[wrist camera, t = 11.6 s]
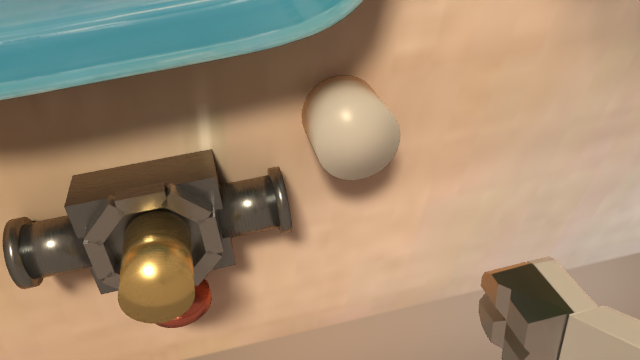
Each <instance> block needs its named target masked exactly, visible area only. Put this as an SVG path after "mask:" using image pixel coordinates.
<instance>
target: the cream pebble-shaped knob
mask: <svg viewBox="0 0 640 360" xmlns="http://www.w3.org/2000/svg"><path fill="white" fill-rule="evenodd" d="M302 123H303V127H304V129H305V132H306V134H307V136H308V138H309V140H310V142H311V144H312V146H313V149H314V151H315V153H316V155H317V157H318V159H319V161H320V163H321V165H322V166H323V168H324V169H325V170H326V171H327V172H328V173H330V174H331V175H333V176H335V177H337V178H340V179H344V180H359V179H364V178H367V177H370V176H372V175H374V174H376V173H378V172H379V171H381V170H382V169H383V168H384V167H386V166H387V165H388V164H389V162H390V161H391V160H392V159H393V157H394V155H395V154H396V152H397V149H398V146H399V142H400V128H399V124H398V122H397V120H396V118H395V116H394V115H393V114H392V113H391V111H390V110H389V109H388V108H387V106H386V105H385V104H384V103H383V102H382V100H381V99H380V98H379V97H378V95H377V94H376V93H375V92H374V90H373V89H372V88H371V87H370V86H369V85H368V84H367V83H366V82H365V81H363V80H362V79H359V78H357V77H354V76H348V75H341V76H335V77H331V78H329V79H326V80H325V81H323V82H321V83H320V84H318V85H317V86H316V87H315V88H314V89H313V90H312V91H311V92H310V93H309V95H308V96H307V98H306V100H305V102H304V105H303V109H302Z"/></svg>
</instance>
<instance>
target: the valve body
mask: <svg viewBox="0 0 640 360" xmlns="http://www.w3.org/2000/svg"><path fill="white" fill-rule="evenodd" d="M64 207H65V209H66V212H67V214H68V215H67V216H62V217H57V218H52V219H47V220H42V221H37V222H32V221H31V220H30V219H29V218H27V217H21V218H16V219H11V220H9V221H8V222H7V223H6V225H5V228H4V232H3V252H4V258H5V262H6V266H7V269H8V271H9V274H10V276H11V278H12V280H13V281H14V283H15V284H16V285H17V286H18V287H19V288H21V289H27V288H32V287H36V286H39V285H40V284H41V283H42V281H43V278H44V277H49V276H54V275H58V274H63V273H68V272H72V271H77V270H82V269H86V268H90V269H91V271H92V274H93V276H94V279H95V281H96V283H97V286H98V288H99V290H100V293H101V294H105V293H109V292H114V291H118V290H119V280H120V270H121V260H122V250H123V239H124V233H125V230H126V228H127V226H128V225H129V224H130V222H131V221H133V220H134V219H135V218H137V217H138V216H140V215H142V214H145V213H149V212H157V211H160V212H168V213H171V214H174V215H176V216H178V217H180V218H181V219H182V220H184V221H185V222H186V224H187V225H188V227H189V229H190V232H191V243H192V257H193V272H194V287H195V297H194V301H193V303H192V305H191V307H190V308H189V309H188V310H187V311H186V312H185V313H184V314H183V315H181V316H180V317H178V318H176V319H174V320H171V321H168V322H163V323H155V324H157V325H159V326H161V327H166V328H177V327H182V326H186V325H188V324H191V323H193V322H195V321H196V320H198V319H199V318H200V317H202V316H203V315H204V314H205V313H206V311H207V310H208V308H209V307H210V304H211V300H212V297H211V292H210V289H209V285H208V283H207V281H206V280H205V279H204V278H205V277H206V276H207V274H208V273H209V272H210V271H211V270H213V269H217V268H222V267H226V266H231V265H235V264H236V263H235V257H234V251H233V245H232V239H231V237H235V236H240V235H245V234H249V233H254V232H259V231H263V230H268V229H273V228H277V227H279V230H280V233H286V232H290V231H292V222H291V215H290V209H289V203H288V198H287V194H286V189H285V185H284V181H283V177H282V174H281V171H280V168H279V167H273V168H268V175H267V176H262V177H257V178H252V179H247V180H242V181H237V182H232V183H227V184H222V185H220V184H219V179H218V175H217V171H216V166H215V162H214V157H213V153H212V149H211V150H206V151H200V152H195V153H190V154H184V155H179V156H174V157H169V158H163V159H158V160H153V161H148V162H142V163H137V164H132V165H127V166H121V167H116V168H111V169H105V170H100V171H95V172H90V173H84V174H79V175H74V176H72V180H71V184H70V188H69V191H68V195H67V199H66V203H65V206H64Z"/></svg>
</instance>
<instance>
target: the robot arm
mask: <svg viewBox="0 0 640 360" xmlns="http://www.w3.org/2000/svg"><path fill="white" fill-rule="evenodd" d="M481 287H482V288H483V290H484V291H485V294H484V295H483V297H482V298H481V299H480V301H479V315H480V320H481V324H482V327H483V329H484V331H485V333H486V335H487V337H488V338H489V340H490V341H491V343H493V344H495V345H497V346H499V347H501V348H502V349H503V351H502V360H640V320H638V319H635V318H633V317H631V316H629V315H626V314H624V313H622V312H619V311H617V310H615V309H612V308H610V307H608V306H601V307H598V306H597V305H596V304H595V302H594V301H593V300H592V299H591V298H590V297H589V296H588V295H587V294H586V293H585V292H584V291H583V290H582V288H581V287H580V286H579V285H578V284H577V283H576V282H575V281H574V280H573V279H572V278H571V277H570V275H568V273H567V272H566V271H565V270H564V269H563V268H562V267H561V266H560V265H559V264H558V263H557V262H556V260H555V259H553V258H551V257H549V256H548V257H544V258H540V259H536V260H532V261H528V262H523V263H519V264H515V265H511V266H507V267H503V268H499V269H495V270H492V271H488V272H485V273H484V274H483V276H482V280H481Z"/></svg>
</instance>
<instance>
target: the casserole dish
mask: <svg viewBox="0 0 640 360" xmlns="http://www.w3.org/2000/svg"><path fill="white" fill-rule="evenodd" d="M362 1H363V0H0V100H5V99H11V98H17V97H22V96H28V95H34V94H39V93H45V92H50V91H55V90H60V89H65V88H70V87H76V86H81V85H87V84H92V83H97V82H103V81H108V80H113V79H118V78H124V77H129V76H135V75H140V74H145V73H151V72H156V71H161V70H167V69H172V68H178V67H183V66H188V65H194V64H199V63H204V62H209V61H214V60H220V59H225V58H230V57H235V56H239V55H244V54H248V53H253V52H257V51H262V50H266V49H270V48H274V47H278V46H282V45H285V44H288V43H291V42H295V41H298V40H301V39H304V38H307V37H309V36H312V35H314V34H317V33H319V32H322V31H324V30H325V29H327V28H329V27H331V26H333V25H335V24H336V23H338V22H339V21H341V20H342V19H344V18H345V17H346V16H348V15H349V14H350V13H352V12H353V11H354V10H355V9H356V8H357V7H358V6H359V5H360V4H361V3H362Z"/></svg>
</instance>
